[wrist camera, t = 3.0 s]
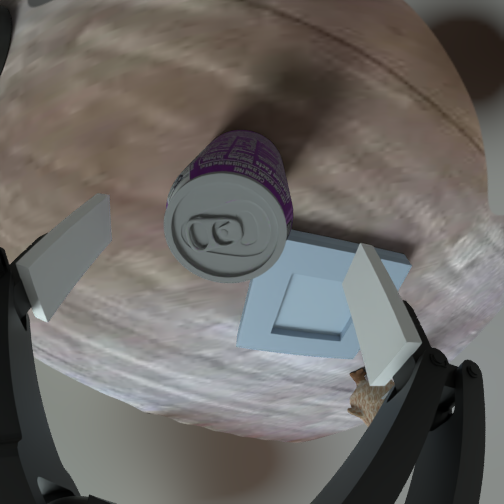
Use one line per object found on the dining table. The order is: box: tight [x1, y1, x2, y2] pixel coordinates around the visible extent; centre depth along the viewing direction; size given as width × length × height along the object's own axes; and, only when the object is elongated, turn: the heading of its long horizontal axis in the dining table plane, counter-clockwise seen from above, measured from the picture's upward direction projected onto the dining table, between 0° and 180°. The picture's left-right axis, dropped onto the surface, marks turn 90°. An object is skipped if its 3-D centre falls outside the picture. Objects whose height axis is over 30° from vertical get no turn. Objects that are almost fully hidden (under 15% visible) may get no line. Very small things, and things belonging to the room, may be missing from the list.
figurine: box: [347, 368, 395, 427], centre depth 34 cm, size 9×10×15 cm
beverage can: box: [164, 130, 293, 283], centre depth 19 cm, size 7×7×12 cm
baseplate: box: [236, 230, 412, 359], centre depth 30 cm, size 16×16×2 cm
